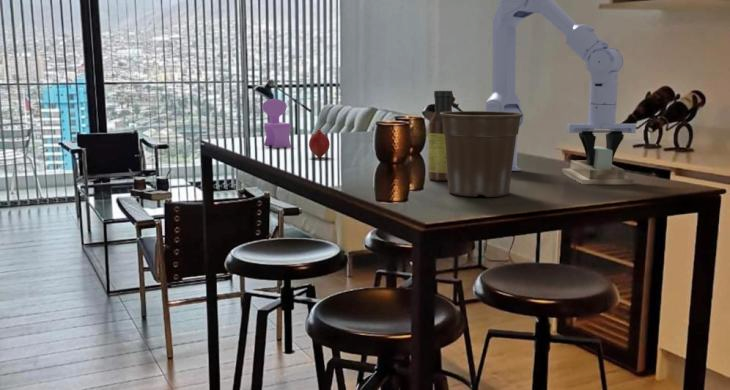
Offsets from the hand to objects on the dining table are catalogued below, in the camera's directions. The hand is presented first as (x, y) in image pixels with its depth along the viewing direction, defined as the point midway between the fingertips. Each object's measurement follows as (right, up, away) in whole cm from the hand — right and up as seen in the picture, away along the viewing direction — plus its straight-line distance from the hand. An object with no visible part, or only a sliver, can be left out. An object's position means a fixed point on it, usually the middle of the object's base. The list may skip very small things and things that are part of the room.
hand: (599, 165), depth 159 cm
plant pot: (-29, -6, -15) cm, 34 cm away
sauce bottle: (-35, -3, +1) cm, 35 cm away
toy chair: (-80, +9, +69) cm, 107 cm away
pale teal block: (0, -2, +1) cm, 2 cm away
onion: (-65, +4, +41) cm, 77 cm away
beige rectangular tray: (0, -3, +3) cm, 4 cm away
